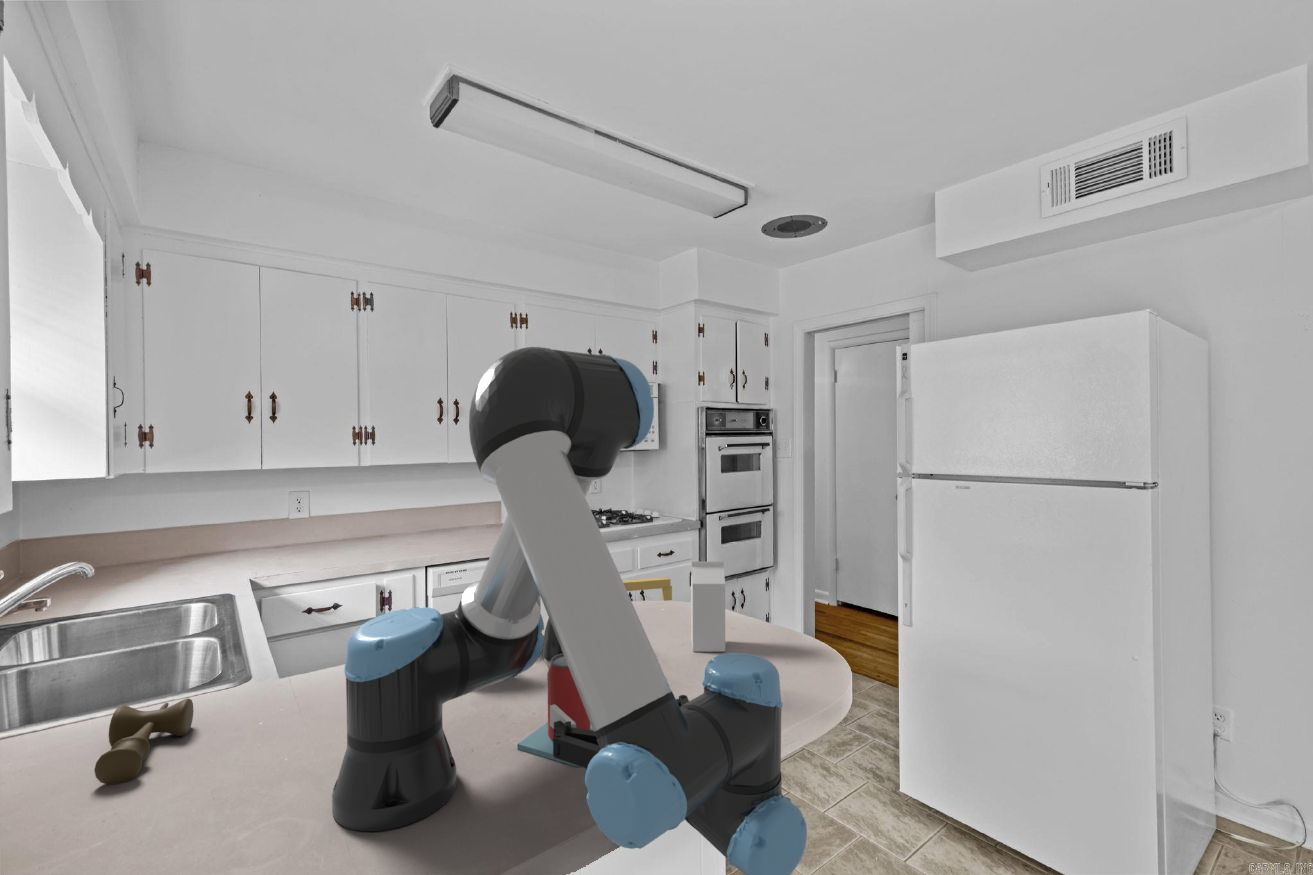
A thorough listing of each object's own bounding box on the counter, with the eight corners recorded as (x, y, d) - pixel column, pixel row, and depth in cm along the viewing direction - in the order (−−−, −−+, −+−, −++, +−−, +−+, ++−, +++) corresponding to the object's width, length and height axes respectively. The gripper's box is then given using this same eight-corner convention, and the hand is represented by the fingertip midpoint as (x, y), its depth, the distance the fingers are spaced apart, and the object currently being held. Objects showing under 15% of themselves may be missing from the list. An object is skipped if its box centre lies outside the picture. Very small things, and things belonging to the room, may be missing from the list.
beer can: (599, 732, 95) (598, 656, 94) (571, 751, 89) (571, 670, 89) (566, 721, 98) (566, 648, 98) (538, 739, 93) (538, 661, 92)
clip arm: (668, 596, 117) (668, 575, 117) (673, 601, 114) (673, 578, 113) (586, 603, 112) (586, 581, 112) (590, 608, 109) (589, 585, 109)
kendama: (70, 798, 80) (130, 726, 99) (159, 783, 84) (202, 716, 103) (70, 754, 80) (131, 690, 99) (160, 741, 84) (202, 681, 102)
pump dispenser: (585, 683, 115) (585, 604, 114) (534, 679, 117) (533, 601, 116) (601, 663, 125) (600, 590, 124) (553, 659, 127) (553, 587, 126)
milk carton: (725, 652, 130) (725, 565, 130) (692, 652, 131) (692, 565, 130) (722, 640, 138) (722, 558, 137) (691, 640, 138) (690, 558, 137)
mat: (578, 767, 86) (578, 761, 86) (517, 749, 91) (517, 743, 91) (616, 732, 96) (616, 727, 96) (560, 717, 101) (560, 713, 101)
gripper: (586, 847, 61) (512, 754, 79) (765, 769, 75) (668, 705, 93) (586, 774, 61) (512, 697, 79) (765, 710, 75) (668, 657, 93)
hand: (596, 701), depth 86 cm, fingers open, 13 cm apart
